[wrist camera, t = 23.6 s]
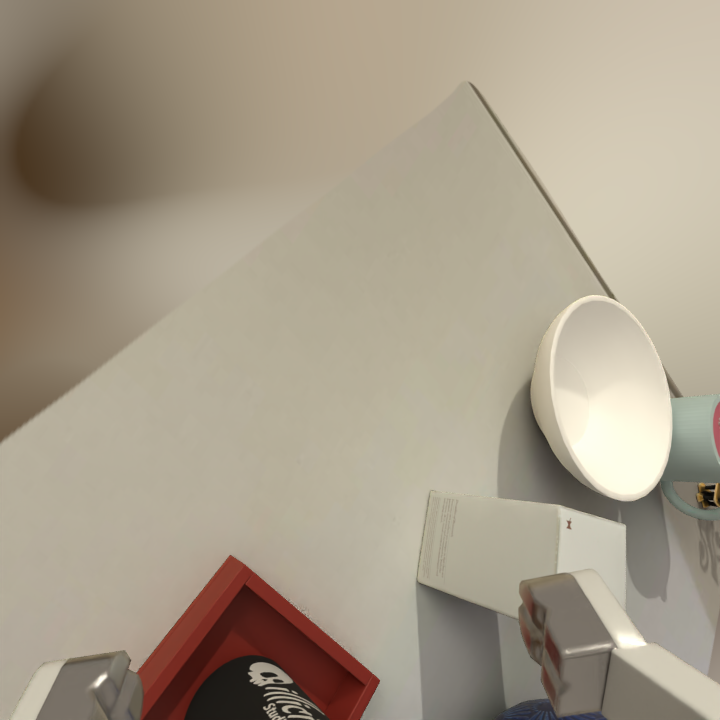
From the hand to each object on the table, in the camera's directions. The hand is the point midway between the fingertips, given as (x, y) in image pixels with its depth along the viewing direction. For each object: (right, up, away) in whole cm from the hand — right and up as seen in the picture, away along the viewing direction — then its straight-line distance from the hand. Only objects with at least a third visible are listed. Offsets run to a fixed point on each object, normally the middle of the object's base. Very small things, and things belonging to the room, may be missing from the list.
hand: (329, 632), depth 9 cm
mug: (+34, -6, +46) cm, 58 cm away
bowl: (+21, +1, +40) cm, 45 cm away
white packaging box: (+9, -10, +30) cm, 32 cm away
